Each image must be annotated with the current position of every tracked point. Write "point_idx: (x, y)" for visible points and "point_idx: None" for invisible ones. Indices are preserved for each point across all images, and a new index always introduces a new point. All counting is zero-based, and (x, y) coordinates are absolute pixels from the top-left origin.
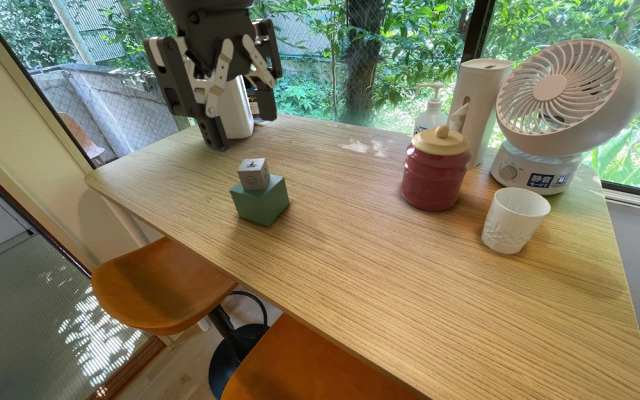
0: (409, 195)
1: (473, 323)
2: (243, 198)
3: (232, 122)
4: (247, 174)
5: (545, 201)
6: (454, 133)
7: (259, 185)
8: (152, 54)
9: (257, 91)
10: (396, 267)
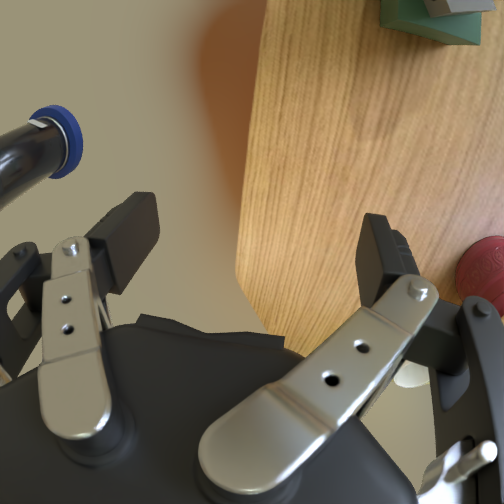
0: (475, 255)
1: (305, 304)
2: None
3: None
4: None
5: (415, 385)
6: None
7: (430, 5)
8: None
9: (379, 282)
10: (353, 242)
